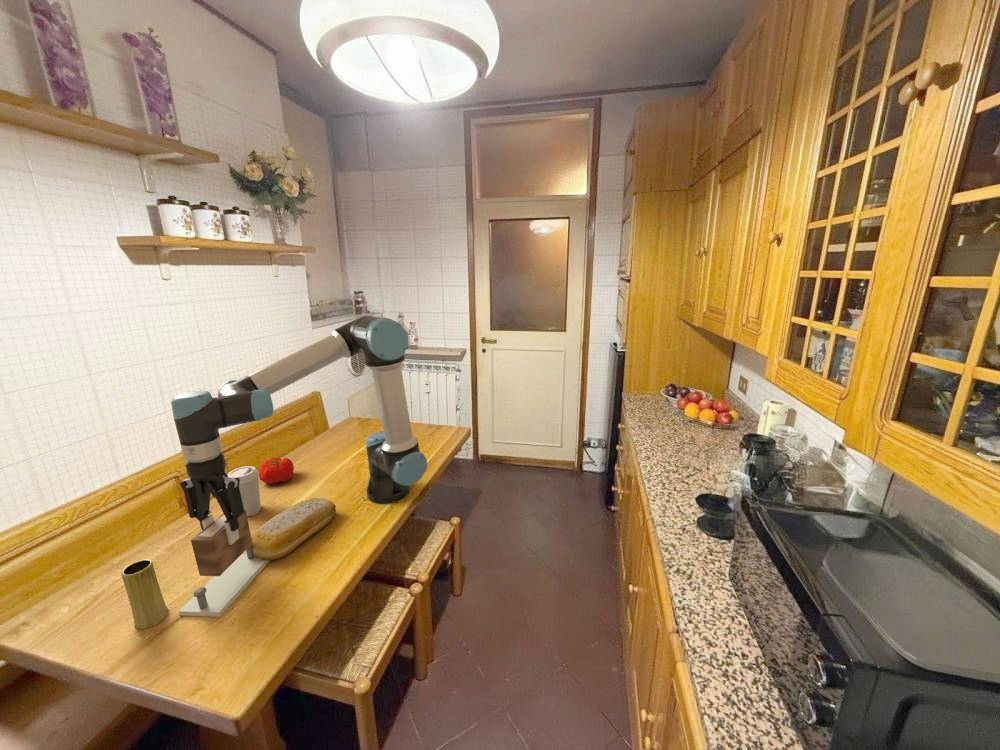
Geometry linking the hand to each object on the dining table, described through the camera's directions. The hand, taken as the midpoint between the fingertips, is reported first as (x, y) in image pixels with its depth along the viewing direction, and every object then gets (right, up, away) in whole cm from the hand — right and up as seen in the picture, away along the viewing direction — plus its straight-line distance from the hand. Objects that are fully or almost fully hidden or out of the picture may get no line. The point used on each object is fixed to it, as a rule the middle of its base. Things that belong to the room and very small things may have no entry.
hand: (223, 540), depth 100 cm
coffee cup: (-16, -5, +35) cm, 39 cm away
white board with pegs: (-1, -13, +3) cm, 13 cm away
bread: (+7, -8, +22) cm, 25 cm away
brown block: (0, -5, +1) cm, 5 cm away
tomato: (-17, 0, +56) cm, 59 cm away
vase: (-12, -16, -6) cm, 21 cm away
